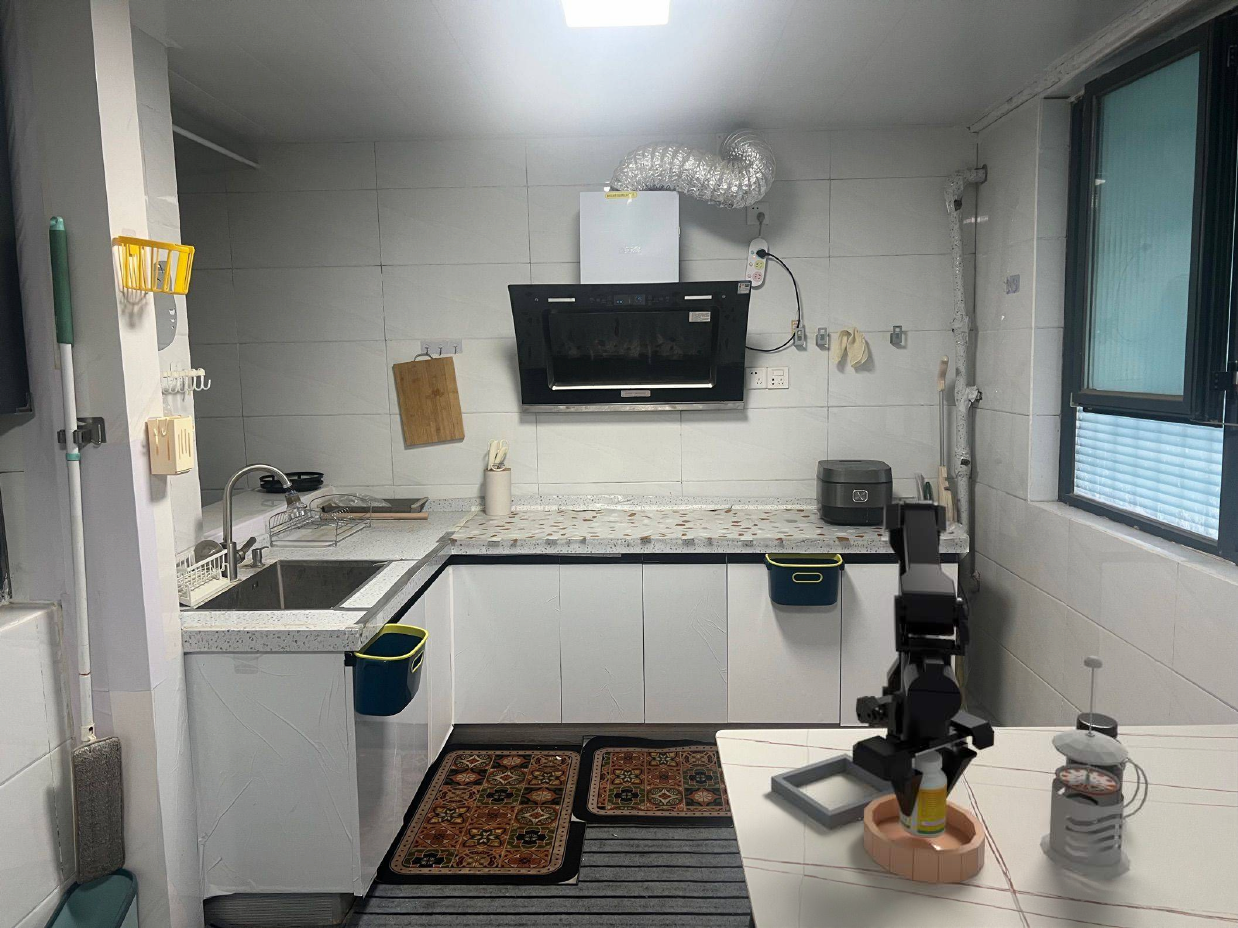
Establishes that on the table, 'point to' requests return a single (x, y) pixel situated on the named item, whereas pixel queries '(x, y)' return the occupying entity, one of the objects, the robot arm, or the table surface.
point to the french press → (1089, 802)
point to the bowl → (924, 844)
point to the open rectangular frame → (815, 771)
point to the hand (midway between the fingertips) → (922, 808)
